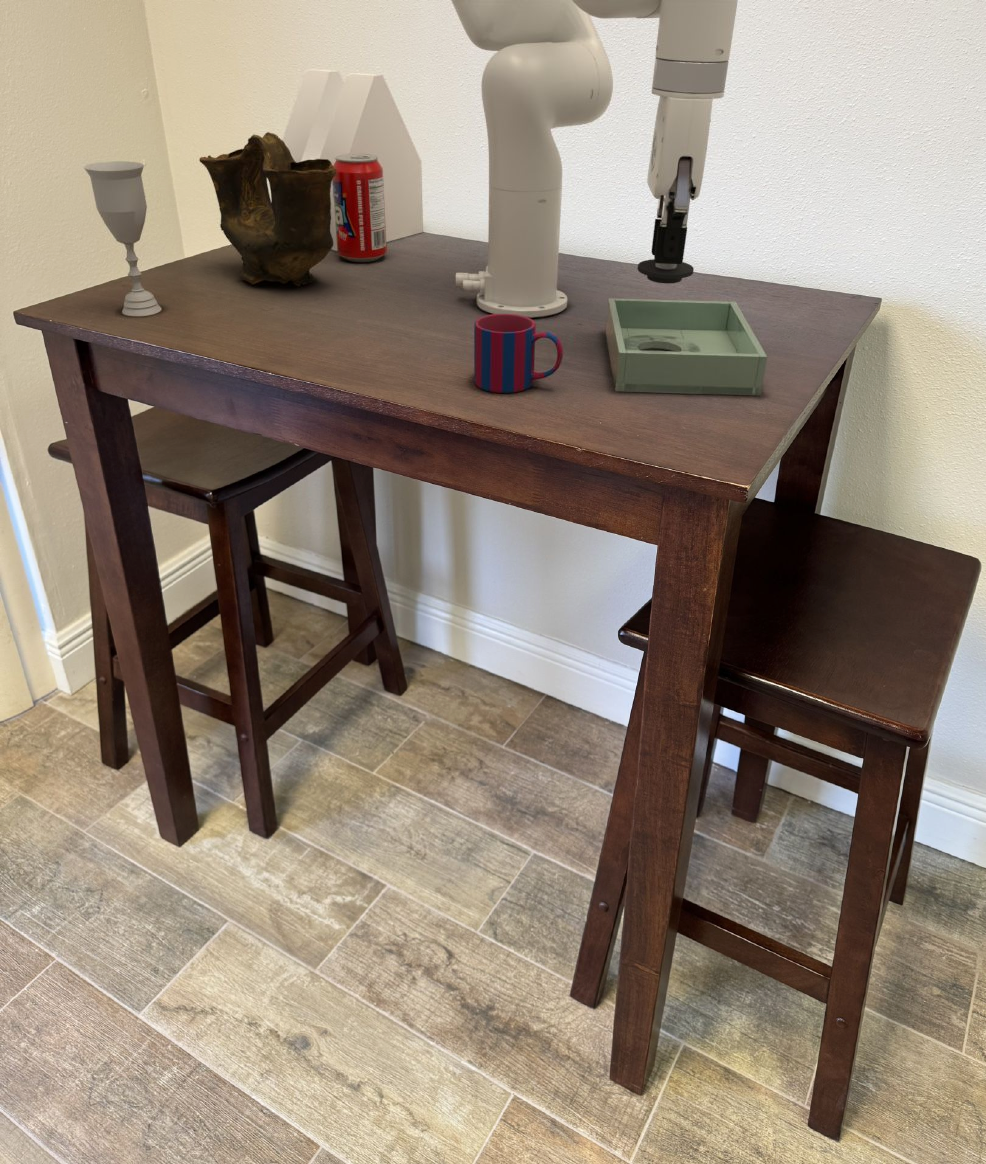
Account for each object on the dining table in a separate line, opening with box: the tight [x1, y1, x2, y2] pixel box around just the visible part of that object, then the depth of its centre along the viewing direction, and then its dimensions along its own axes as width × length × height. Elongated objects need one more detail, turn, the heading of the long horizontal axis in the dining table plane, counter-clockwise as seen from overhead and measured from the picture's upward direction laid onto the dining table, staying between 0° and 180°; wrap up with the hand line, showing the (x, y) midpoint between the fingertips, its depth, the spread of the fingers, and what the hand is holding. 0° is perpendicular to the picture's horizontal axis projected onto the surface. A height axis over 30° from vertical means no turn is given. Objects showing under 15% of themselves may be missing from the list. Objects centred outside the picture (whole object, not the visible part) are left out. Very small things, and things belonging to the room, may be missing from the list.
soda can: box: [332, 154, 388, 263], centre depth 146 cm, size 8×8×15 cm
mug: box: [473, 313, 564, 394], centre depth 103 cm, size 7×10×7 cm
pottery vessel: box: [199, 131, 337, 287], centre depth 134 cm, size 25×11×20 cm, turn 46°
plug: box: [637, 222, 695, 285], centre depth 108 cm, size 6×6×6 cm
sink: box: [605, 297, 768, 397], centre depth 111 cm, size 16×20×4 cm
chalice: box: [83, 160, 162, 317], centre depth 121 cm, size 7×7×18 cm
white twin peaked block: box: [281, 68, 424, 252], centre depth 156 cm, size 19×15×25 cm
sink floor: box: [605, 328, 762, 396], centre depth 112 cm, size 16×20×1 cm
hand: (666, 257), depth 108 cm, fingers closed on plug, 2 cm apart
